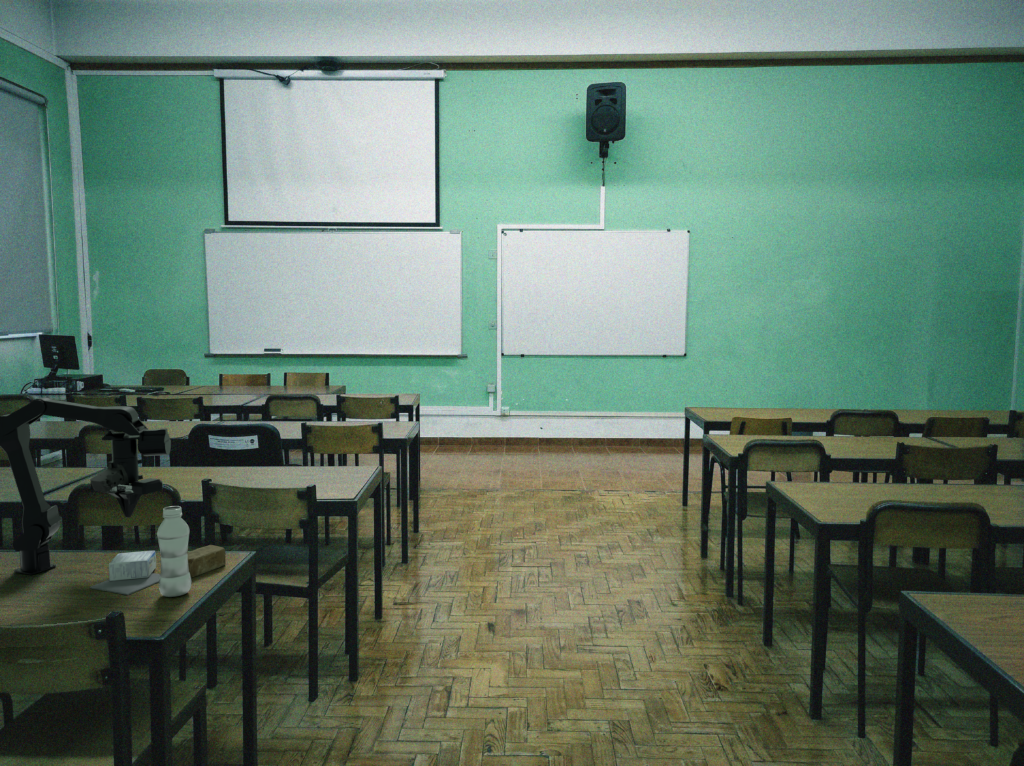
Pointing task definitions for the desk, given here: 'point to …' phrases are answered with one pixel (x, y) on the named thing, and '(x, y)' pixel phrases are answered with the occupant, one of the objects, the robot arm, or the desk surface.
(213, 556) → the stone block
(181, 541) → the plastic bottle
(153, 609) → the desk surface
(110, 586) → the mat
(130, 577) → the medicine box
